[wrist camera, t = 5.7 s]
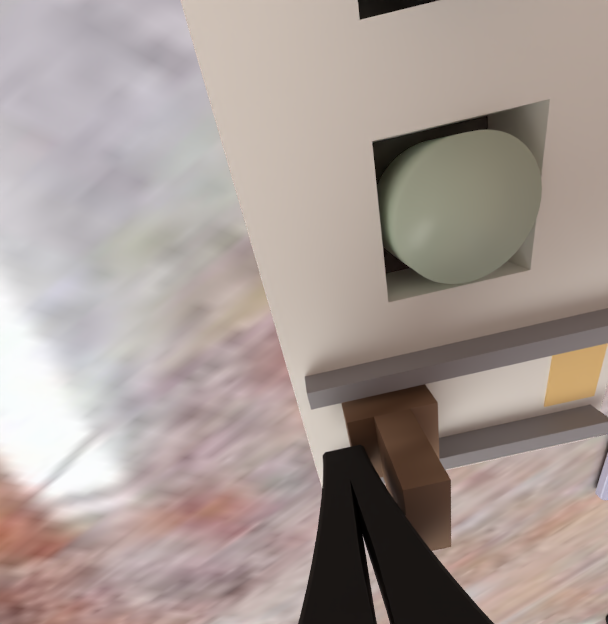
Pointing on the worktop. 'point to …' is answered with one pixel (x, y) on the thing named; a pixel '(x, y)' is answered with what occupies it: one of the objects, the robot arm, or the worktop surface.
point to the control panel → (366, 219)
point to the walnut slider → (406, 456)
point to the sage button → (459, 204)
